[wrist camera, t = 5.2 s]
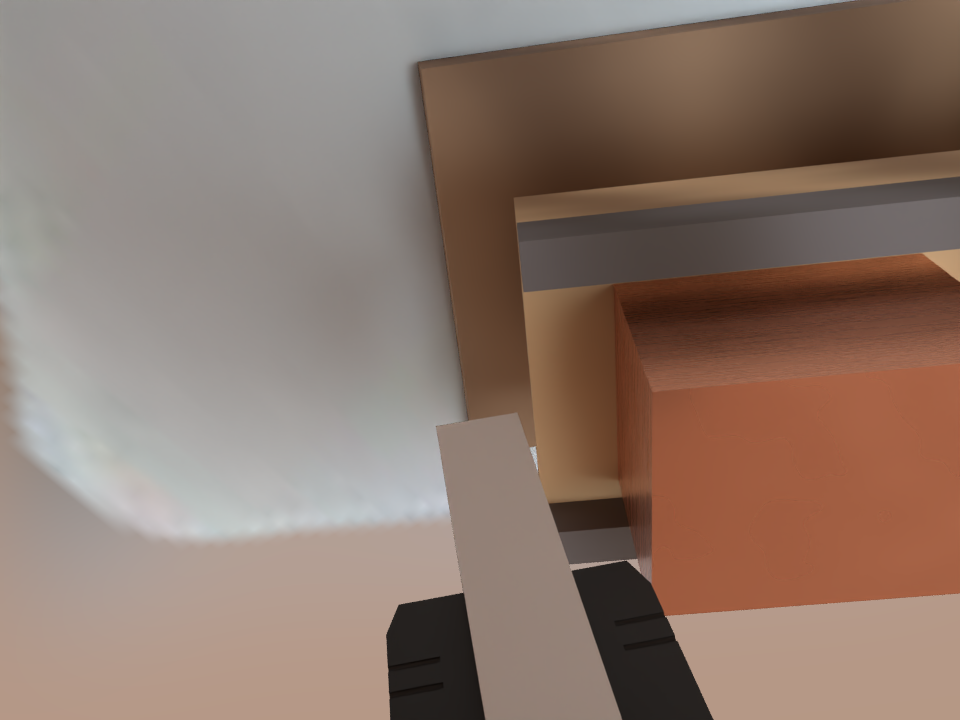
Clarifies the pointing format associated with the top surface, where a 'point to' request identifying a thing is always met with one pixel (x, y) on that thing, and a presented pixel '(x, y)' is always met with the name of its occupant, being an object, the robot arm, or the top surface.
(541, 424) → the beam
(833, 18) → the stand
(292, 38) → the top surface
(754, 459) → the terracotta wooden block
